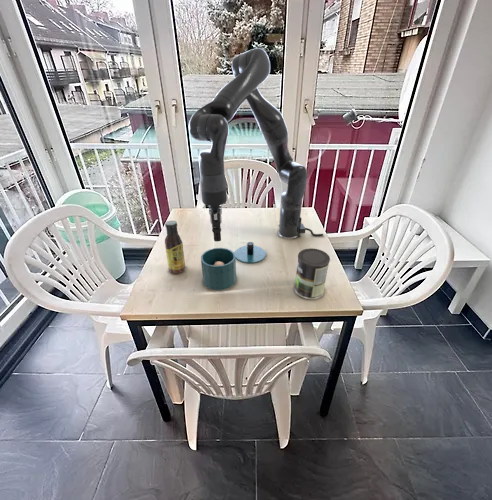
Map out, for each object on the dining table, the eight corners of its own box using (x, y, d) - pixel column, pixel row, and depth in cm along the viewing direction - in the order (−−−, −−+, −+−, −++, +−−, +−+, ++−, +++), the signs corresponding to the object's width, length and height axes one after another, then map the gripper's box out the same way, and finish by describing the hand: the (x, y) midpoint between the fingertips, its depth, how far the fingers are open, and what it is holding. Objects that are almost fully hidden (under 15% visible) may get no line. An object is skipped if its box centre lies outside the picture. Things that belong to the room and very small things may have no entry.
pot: (234, 269, 110) (234, 246, 104) (237, 289, 100) (236, 265, 94) (203, 272, 108) (201, 248, 103) (203, 292, 99) (200, 267, 93)
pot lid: (263, 246, 124) (263, 234, 121) (268, 263, 114) (268, 250, 110) (233, 248, 123) (233, 236, 120) (236, 265, 112) (235, 253, 109)
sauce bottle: (177, 276, 106) (169, 229, 96) (165, 270, 109) (156, 224, 98) (189, 267, 111) (183, 221, 100) (177, 262, 114) (170, 217, 103)
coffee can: (295, 299, 96) (299, 265, 88) (293, 280, 105) (296, 247, 97) (326, 300, 96) (333, 266, 88) (321, 281, 104) (326, 248, 97)
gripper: (227, 195, 79) (230, 244, 88) (224, 178, 91) (227, 223, 100) (200, 196, 79) (205, 246, 87) (201, 179, 91) (205, 225, 99)
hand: (217, 234), depth 94 cm, fingers open, 8 cm apart
